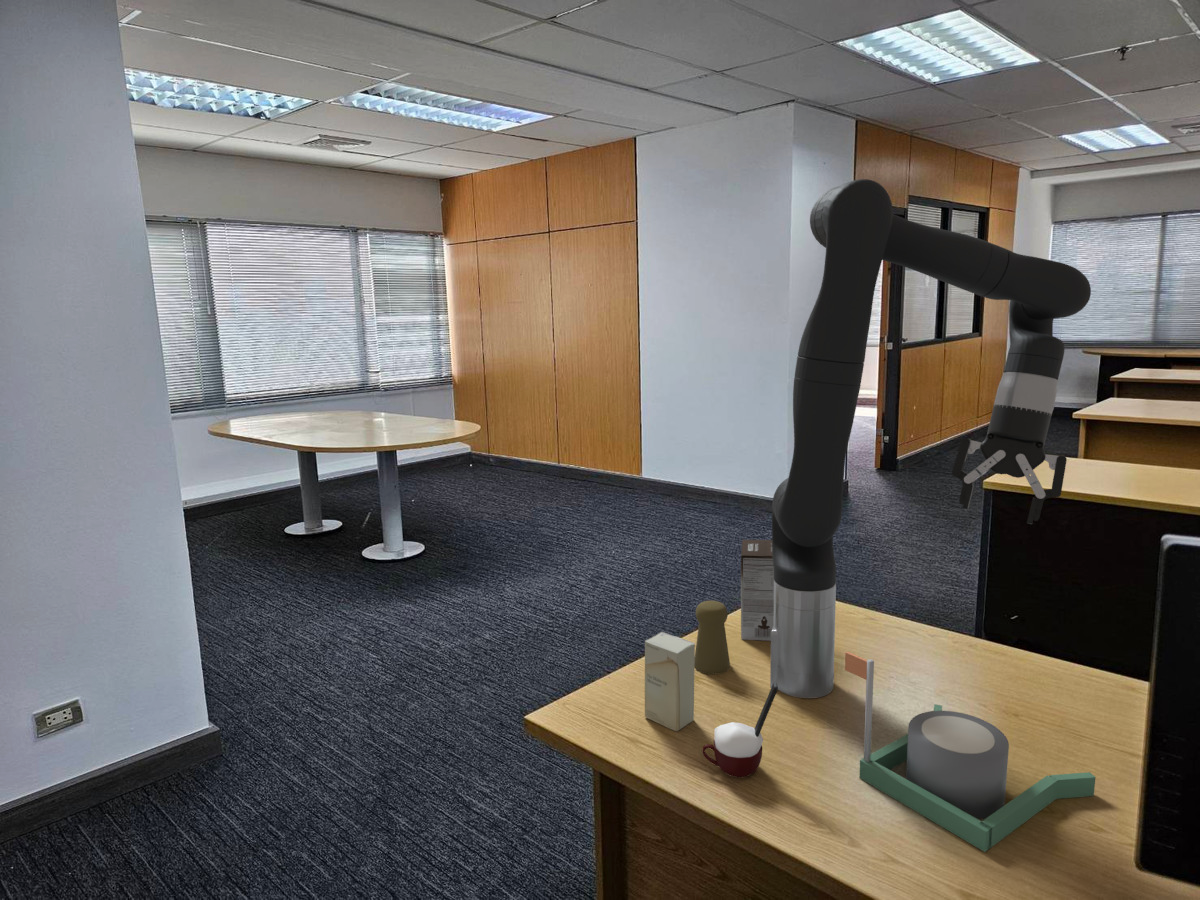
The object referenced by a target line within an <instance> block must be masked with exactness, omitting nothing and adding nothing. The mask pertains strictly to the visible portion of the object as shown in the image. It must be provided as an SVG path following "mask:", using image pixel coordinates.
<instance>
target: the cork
mask: <svg viewBox="0 0 1200 900" xmlns="http://www.w3.org/2000/svg"><path fill="white" fill-rule="evenodd" d="M725 605H726V604H724V603H722V602H720V601H719V600H718V601H717V600H704V601H702V602H700V603H699V604H698V605H697V606H696V609H695V617H696V620H697V622H698V629H697V636H696V644H695V662H694V670H696V671H698V672H700V673H703V674H706V675H720V674H724V673H726V672H728V671H729V670H730V669H731V663H730V654H729V649H728V647H729V646H728V640H727V635H726V626H725V624H726V622H727V620H728V613H729V612H728V609H727V607H726V606H725Z"/></svg>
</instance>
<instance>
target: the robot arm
mask: <svg viewBox="0 0 1200 900" xmlns="http://www.w3.org/2000/svg"><path fill="white" fill-rule="evenodd" d="M893 211H894V210H893V203H892V199H891V197H890V195H889V193H888V191H887V190H886V189H885V187H884V186H883V185H882V184H880V182H877V181H876V180H871V179H868V178H867V179H866V178H863V179H854V180H851V181H847V182H846V183H842V184H840V185H837V186H835V187H833V188H831V189H829V190H827V191H826V192H824V193H823V194H822V195H821V196H820V197H819V198H818V199H817V200H816V201H815V203H814V205H813V207H812V208H811V211H810V216H809V226H810V230H811V233H812V236H813V237H814V239H815V241H817V243H819V244H820V245H821V246H822V247H824V248H825V257H824V265H823V267H824V268H823V275H822V279H821V280H822V281H821V286H820V289H819V291H818V292H819V293H818V295H817V298H816V300H815V304H814V305H813V307H812V310H811V312H810V314H809V317H808V320H807V321H806V324H805V327H804V329H803V333H802V335H801V339H800V342H799V347H798V351H797V356H796V357H797V358H796V364H795V370H794V378H793V386H792V387H793V392H792V417H793V419H792V420H793V452H792V453H793V454H792V459H791V466H790V470H789V473H788V477H787V478H786V479H784V480H782V482H781V483H780V484H779V485H777V488H776V490H775V492H774V494H773V497H772V503H771V504H772V506H771V540H772V557H773V567H774V616H773V628H772V630H771V641H770V680H769V681H770V683H769V684H770V686H769V687H770V689H771V687H772V685H773V683H774V682H776V683H777V686H778V690H777V691H779V692H781V693H783V694H785V695H788V696H790V697H795V698H800V699H816V698H822V697H825V696H827V695H829V694H830V693H831V692H832V691H833V689H834V680H835V672H834V671H835V636H836V634H835V633H836V604H837V603H836V597H837V596H836V595H837V594H836V593H837V566H836V559H835V554H834V553H835V552H834V535H835V533H837V531H838V529H839V527H840V524H841V522H842V515H843V499H844V498H843V496H844V480H845V477H844V476H845V465H846V456H847V450H848V446H849V445H848V444H849V441H850V437H851V435H852V434H851V433H852V428H853V425H854V424H853V423H854V419H855V414H856V410H857V404H858V400H859V399H858V398H859V396H860V395H859V394H860V391H861V383H862V380H863V379H862V377H863V372H864V367H865V360H866V352H867V345H868V344H867V343H868V338H869V333H870V332H869V330H870V326H871V320H872V319H871V318H872V312H873V311H872V310H873V302H874V296H875V290H876V285H877V280H878V277H879V272H880V268H881V266H882V261H884V262H888V263H892V264H895V265H898V266H902V267H904V268H907V269H910V270H913V271H916V272H918V273H920V274H923V275H925V276H928V277H930V278H934V279H936V280H938V281H941V282H944V283H946V284H948V285H951V286H953V287H956V288H959V289H961V290H963V291H966V292H969V293H972V294H975V295H976V296H980V297H982V298H984V299H985V298H986V299H990V300H994V301H995V300H996V301H1004V300H1005V301H1009V305H1008V306H1009V307H1008V313H1009V314H1008V325H1009V327H1008V329H1009V330H1008V332H1009V333H1008V334H1009V344H1010V345H1009V349H1008V351H1007V352H1008V353H1007V356H1006V360H1005V363H1004V364H1005V365H1004V370H1003V373H1002V376H1001V379H1000V381H999V382H998V383H999V384H998V386H997V391H996V394H995V398H994V403H993V408H992V411H991V415H990V420H989V424H988V428H987V433H986V437H985V438H984V440H983V441H982V442H981V441H976V440H972V439H970V438H969V437H963V438H962V439H961V441H960V444H959V447H958V451H957V453H956V457H955V461H954V462H953V463H954V465H953V467H952V470H951V474H952V476H953V477H955V478H957V479H959V480H960V481H961V482H962V486H961V492H960V494H959V499H958V502H959V504H960V505H962V509H964V510H967V511H968V510H969V508H970V504H971V502H972V501H971V500H972V495H973V490H974V488H975V484H974V482H975V481H976V480H978V479H979V478H980V477H982V476H983V475H985V474H987V472H988V471H991V472H992V473H994V474H996V475H1008V476H1010V477H1013V478H1017V479H1018V478H1019V479H1020V478H1024V477H1025V479H1026V481H1027V483H1028V484H1029V486H1030V487H1031V490H1032V491H1033V493H1034V497H1032V500H1031V502H1030V503H1031V505H1030V508H1029V512H1028V516H1027V521H1026V524H1030V525H1033V522H1037V521H1039V519H1040V517H1041V513H1042V509H1043V504H1044V502H1045V500H1046V499H1052V498H1053V499H1054V498H1059V497H1060V496H1061V495H1062V491H1063V490H1062V489H1063V483H1064V478H1065V473H1066V466H1067V461H1068V460H1067V457H1066V456H1065V455H1055V454H1046V453H1045V449H1044V448H1045V444H1046V440H1047V435H1048V431H1049V428H1050V423H1051V420H1052V415H1053V411H1054V410H1055V402H1056V398H1057V387H1058V383H1059V382H1058V380H1059V376H1060V374H1061V373H1060V372H1061V368H1062V364H1063V360H1064V357H1065V350H1066V349H1065V344H1064V342H1063V341H1062V339H1060V338H1058V337H1056V336H1053V334H1054V333H1053V330H1054V328H1053V327H1054V319H1055V320H1056V319H1060V318H1061V319H1063V318H1067V317H1070V316H1073V315H1075V314H1077V313H1079V312H1080V311H1082V310H1083V309H1084V308H1085V307H1086V306H1087V304H1088V303H1089V301H1090V299H1091V295H1092V294H1091V293H1092V288H1091V284H1090V281H1089V279H1088V278H1087V277H1086V275H1085V274H1083V272H1082V271H1081V270H1079V269H1077V268H1076V267H1074V266H1071V265H1069V264H1066V263H1063V262H1060V261H1055V260H1051V259H1045V258H1041V257H1036V256H1032V255H1031V256H1030V255H1026V254H1025V255H1024V254H1020V253H1016V252H1014V251H1012V250H1009V249H1008V248H1004V247H1002V246H1000V245H998V244H995V243H991V242H989V241H987V240H984V239H981V238H978V237H975V236H972V235H968V234H964V233H961V232H956V231H951V230H947V229H943V228H938V227H933V226H929V225H925V224H921V223H918V222H915V221H912V220H909V219H906V218H903V217H901V216H898V215H896V214H894V212H893ZM976 450H980V452H981V454H982V456H983V458H984V460H985V461H983V462H981V464H979V465H978V466H977V467H975V468H974V469H973V470H971V471H970V473H967V472H966V471H964V468H965V465H966V462H967V459H968V455H972V454H974V453H975V451H976ZM1044 462H1047V463H1048V467H1049V468H1050V470H1051V471H1052V470H1053V471H1054V472H1053V478H1052V484H1051V488H1048V489H1047V488H1046V489H1044V488H1043V486H1042V484H1041V482H1040V481H1039V478H1038V477H1037V475H1036V473H1035V471H1034V470H1035V469H1036V468H1038V467H1039V466H1040V465H1041V464H1043V463H1044Z"/></svg>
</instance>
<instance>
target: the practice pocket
mask: <svg viewBox="0 0 1200 900" xmlns="http://www.w3.org/2000/svg"><path fill="white" fill-rule="evenodd" d="M844 654H845V655H844V671H847V672H848V673H850V674H853V675H854V676H857V677H858V678H861V679H863V680H865V682H866V684H865V709H864V710H865V711H864V712H865V713H864V715H865V716H864V717H865V718H864V741H863V742H864V743H863V757H862V759H860V760H859V779H860V778H861V780H862V781H864V782H866V783H867V782H868V783H867V784H869V785H871V786H872V785H873V786H872V787H874V788H875V789H877V790H879V791H881V793H884V794H886V795H887V796H889V797H891V798H892V799H894V800H896V801H897V802H900V803H901V804H902V805H905V806H906V807H908V808H909V809H911V810H913V811H914V812H917V813H918V814H919V815H921V816H923V817H924V818H926V819H928V820H929V821H931V822H933V823H935V824H936V825H938V826H939V827H942V828H943V829H945V830H947V831H948V832H950V833H951V834H953V835H955V836H957V837H958V838H961V839H962V840H964V841H965V842H967V843H968V844H970V845H972V846H974V847H975V848H977V849H979V850H980V851H982V852H983V853H986V852H988V851H989V849H991V848H993V847H994V846H995V845H997V844H998V843H999V842H1001V841H1002V840H1004V839H1005V838H1006V837H1007V836H1008V835H1010V834H1011V833H1013V832H1014V831H1015V830H1017V829H1018V828H1019V827H1021V826H1022V825H1023V824H1025V823H1026V822H1028V820H1030V819H1031V818H1033V817H1034V816H1035V815H1037V814H1038V813H1040V811H1042V810H1043V809H1044V808H1046V807H1047V806H1049V805H1050V804H1051V803H1052V802H1055V800H1058V799H1071V798H1073V799H1074V798H1084V797H1085V798H1086V797H1094V796H1095V789H1096V788H1095V787H1096V785H1095V784H1096V776H1095V775H1094V774H1093V773H1092V772H1091V771H1089V772H1075V773H1074V772H1073V773H1062V774H1059V773H1058V774H1050V775H1048V774H1047V775H1045V776H1044V777H1043V778H1041V779H1040V780H1039V781H1037V782H1036V783H1034V784H1033V785H1031V786H1030V787H1028V788H1027V789H1026V790H1024V791H1022V793H1020V794H1018V795H1017V796H1015V797H1014V798H1013V799H1012V800H1010V801H1009V802H1007V803H1006V804H1004V806H1003V807H1002V808H1000V809H999V810H997V811H996V812H995V813H993V814H992V815H990V816H989V817H987V818H985V819H982V820H981V819H976V818H975V817H973V816H971V815H969V814H968V813H966V812H964V811H962V810H960V809H959V808H957V807H955V806H953V805H951V804H950V803H948V802H946V801H944V800H943V799H941V798H939V797H937V796H935V795H934V794H932V793H930V792H928V791H926V790H925V789H923V788H921V787H919V786H918V785H916V784H914V783H912V782H910V781H909V780H907V779H906V777H903V776H902V775H900V774H898V773H896V772H894V771H892V769H893V768H895V767H897V766H899V765H901V764H902V763H904V762H907V746H908V733H907V734H905V735H903V736H901V737H900V738H898V739H896V740H894V741H892V742H891V743H889V744H887V745H884V746H883V747H882V748H880V749H878V750H875V751H874V752H872V729H873V728H872V727H873V704H874V702H873V701H874V700H873V699H874V697H873V696H874V675H875V673H874V672H875V671H874V670H875V661H874V659H865V658H863V657H860V656H859V655H856V654H854V653H852V652H849V651H845V653H844ZM933 711H943V705H940V704H936V703H935V704H933Z"/></svg>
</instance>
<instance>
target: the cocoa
mask: <svg viewBox="0 0 1200 900" xmlns="http://www.w3.org/2000/svg"><path fill="white" fill-rule="evenodd" d="M778 691H779V690H778V686H777V683H776V682H774V683H773V685H772V687H771V688H770V690H769V692H768V694H767V696H766V697H767V698H766V700H765V702H764V705H763V707H762V709H761V712H760V714H759V717H758V720H757V721H756V724H755V726H754V727H753V726H750V725H746V724H745V723H741V722H733V721H731V722H728V723H727V722H726V723H724V724H721V725H718V726H717V727H715V728H714V739H713V744H709V743H706V744H704V745H703V747H702V749H701V750H702V751H701V752H702V755H703V757H704V758H705V759H706V760H707V761H708V762H709V763H711V764H713V765H714V766H716V767H719V770H721V771H722V772H723V774H726V775H728V776H730V777H734V778H746V777H749V776H751V775H753V774H754V773H755V772H756V771H757V769H758V768H759V767H760V764H761V761H762V756H763V741H764V738H763V735H762V733H761V731H762V728H763V726H764V723H766V722H765V721H766V719H767V716H768V714H769V712H770V709H771V706H772V704H773V703H774V700H775V697H776V695H777V692H778ZM707 749H710V750H712V751H713V753H714V757H715V759H714V758H712V757H711V756H709V754H707V753H706V750H707Z"/></svg>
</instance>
